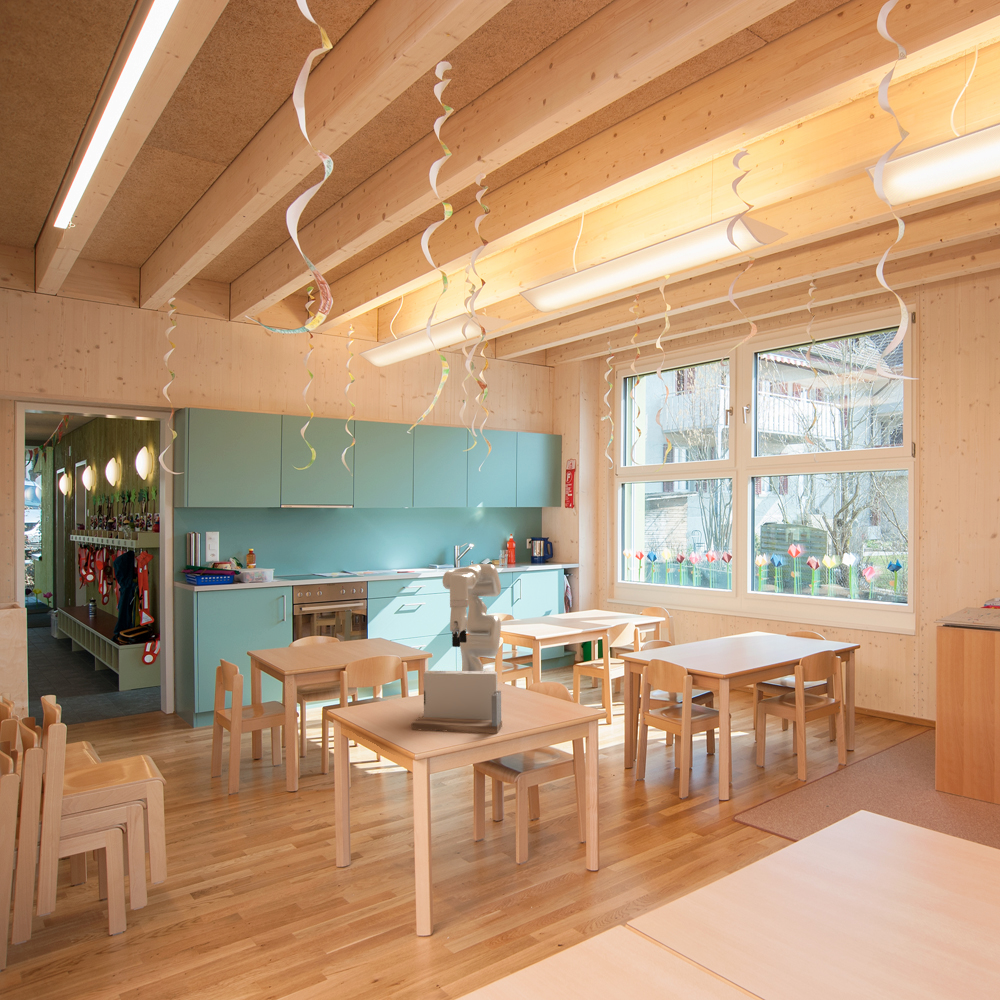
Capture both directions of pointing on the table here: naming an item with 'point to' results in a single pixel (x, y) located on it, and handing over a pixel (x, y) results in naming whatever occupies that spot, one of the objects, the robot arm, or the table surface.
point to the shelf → (455, 724)
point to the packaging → (459, 694)
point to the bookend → (496, 708)
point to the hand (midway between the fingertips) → (459, 644)
